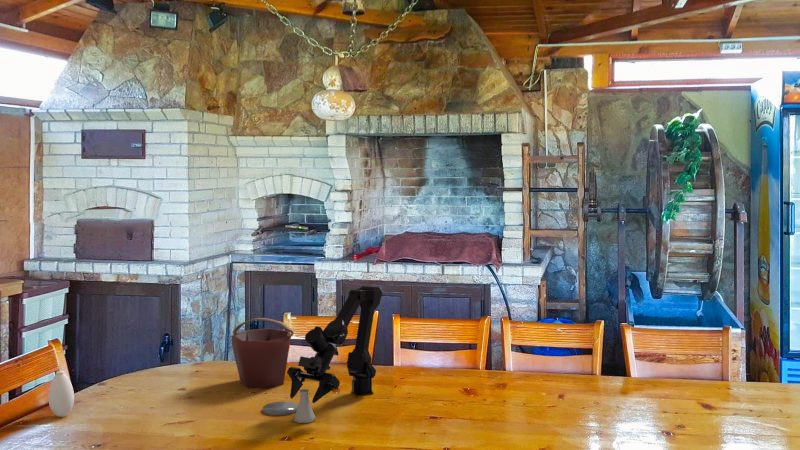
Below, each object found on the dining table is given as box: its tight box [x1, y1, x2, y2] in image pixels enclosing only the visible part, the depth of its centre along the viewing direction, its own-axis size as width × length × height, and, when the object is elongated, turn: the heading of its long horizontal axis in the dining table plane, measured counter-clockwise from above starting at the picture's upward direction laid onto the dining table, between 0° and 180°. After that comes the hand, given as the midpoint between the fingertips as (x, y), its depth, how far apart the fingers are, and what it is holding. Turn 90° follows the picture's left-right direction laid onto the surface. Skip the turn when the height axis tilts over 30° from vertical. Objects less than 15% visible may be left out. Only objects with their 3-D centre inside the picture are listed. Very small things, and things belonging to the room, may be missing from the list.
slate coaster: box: [262, 401, 299, 417], centre depth 257 cm, size 12×12×1 cm
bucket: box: [231, 317, 294, 390], centre depth 288 cm, size 24×22×25 cm
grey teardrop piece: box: [48, 363, 75, 418], centre depth 252 cm, size 8×8×18 cm
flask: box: [293, 388, 316, 424], centre depth 247 cm, size 7×7×10 cm
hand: (301, 400), depth 245 cm, fingers open, 9 cm apart
